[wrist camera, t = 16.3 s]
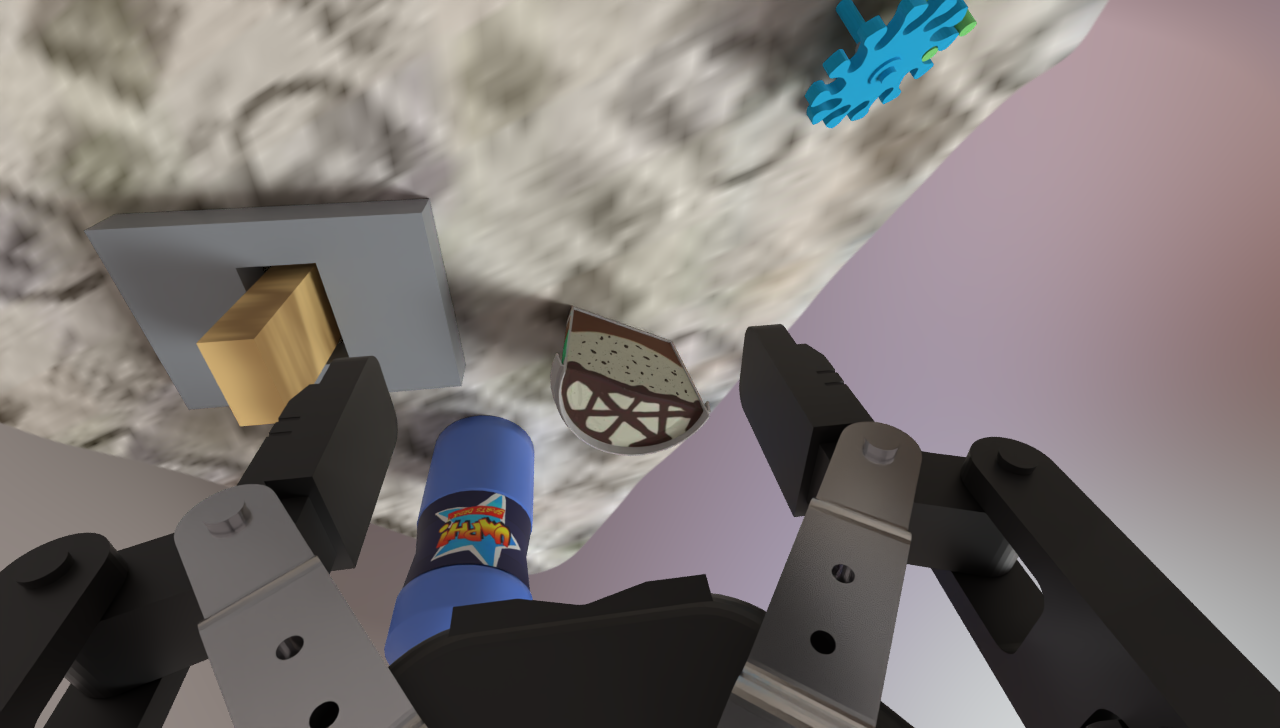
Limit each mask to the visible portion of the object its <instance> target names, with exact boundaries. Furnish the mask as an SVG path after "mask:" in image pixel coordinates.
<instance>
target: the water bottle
mask: <svg viewBox="0 0 1280 728" xmlns="http://www.w3.org/2000/svg"><path fill="white" fill-rule="evenodd" d="M533 487H534V447H533V443H532V441H531V439H530V437H529V436H528V434H527V433H526V432H525V431H524V430H523V429H522V428H521V427H519V426H518V425H516V424H515V423H513V422H511V421H509V420H506V419H503V418H500V417H495V416H482V415H481V416H471V417H468V418H464V419H461V420H458V421H456V422H454V423H452V424H451V425H449V426H448V427H447V428H445V429H444V431H443V432H442V433H441V434H440V435H439V437H438V439H437V441H436V445H435V449H434V453H433V457H432V461H431V465H430V470H429V474H428V478H427V482H426V486H425V491H424V495H423V499H422V504H421V508H420V512H419V517H418V521H417V543H416V554H415V556H414V559H413V562H412V564H411V567H410V570H409V573H408V575H407V578H406V581H405V583H404V586H403V588H402V590H401V591H400V593H399V595H398V596H397V599H396V603H395V607H394V611H393V615H392V620H391V624H390V628H389V632H388V636H387V640H386V644H385V649H384V650H385V657H386V659H387V661H388V663H389V665H391V664H392V663H393V662H394V661H395V660H396V659H398V658H399V657H400V656H402V655H403V654H404V653H406V652H407V651H408V650H410V649H411V648H413V647H414V646H416V645H418V644H419V643H421V642H422V641H424V640H426V639H428V638H430V637H432V636H434V635H436V634H438V633H440V632H442V631H445V630H447V629H450V624H451V617H452V610H453V607H456V606H464V605H471V604H479V603H487V602H494V601H502V600H510V599H527V600H533V599H532V595H531V593H530V587H529V578H528V569H527V559H526V555H527V550H528V545H529V540H530V535H531V532H532V521H533Z"/></svg>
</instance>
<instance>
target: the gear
mask: <svg viewBox="0 0 1280 728" xmlns="http://www.w3.org/2000/svg"><path fill="white" fill-rule="evenodd" d="M836 12H837V13H838V15H839V16H840V18H841V20H842V21H843V23H844V24H845V26H846V28H847V29H848V31H849V32H850V34H851V36H852V37H853V39H854V41H855V42H856V44H857V46H856V48H855V53H856V54H855V55H854V56H853V57H852V58H851V59H849V58H848V57H847V55H846V54H845V52H844V50H843V49H838V50H837V51H836V52H834V53H833V54H832V55H831V56H830V57H829V58H828V59H827V60H826V61H825V62H824V63H823V67H824V69H825V71H826V72H827V74H828V76H829V77H830V78H837V77H838V78H837V79H836V80H835V81H833V82H832V83H830V84H825V83H824V82H823V81H822V80H818V81H816V82H814V83H813V84H812V85H811V86H810V88H809V89H808V91H807V92H806V94H805V98H806V99H807V101H808V103H809V104H810V105H809V106H808V108H807V115H808V117H809V119H810V121H811V122H812V124H813V125H814V124H817V123H818V122H820V121H821V120H823V122H824V123H825V125H826V127H828V128H833V127H835V126H836V125H837V124H839V123H840V122H841V120H842V119H843V118H844V117H845V116H846V115H848V117H849V119H850V120H851V121H854V120H858V119H861V118H863V117H864V116H865V115H866V114H867V113H868V111H869V108H870V106H871V105H872V103H873V102H874V101H875V100H876V99H877V98H878V97H879V99H880V100H881V102H882V104H885V103H887V102H889V101H891V100H893V99H894V98H896V97H897V96H899V94H900V93H901V90H900V89H899V85H900V82H901V81H902V79H903V77H904V76H905V75H906V74H907V73H908V72H909V71H910V73H911V74H912V76H913V77H914V79H918V78H919V77H921V76H922V75H923V74H925V73H926V72H927V71H928V70H929V69H931V68H932V67H933V65H934V64H933V62H932V61H931V59H930V58H931V57H933V56H934V55H935V54H936V52H937V51H938V50H939V51H942V50H944V49H946V48H947V47H948V46H949V45H950V44H951V43H952V42H953V41H954V40H955V39H956V37H957V36H958V35H959V36H964V35H966V34H967V33H969V32H970V31H971V30H972V29H973V28H974V27H975V26H976V24H977V22H976V21H975V19H974V18H973V16H972V15H971V13H970V12H969V10H968V6H967V5H966V3H965V2H964V1H963V0H902V1H901V2H900V3H899V5H898V8H897V11H896V13H895V15H894V17H893V18H892V20H891V21H890V22H889V24H888V25H887V26H886V25H885V24H884V22H883V21H882V19H881V17H880V16H879V15H878V16H876V17H874V18H872V19H870V20H868V21H867V22H865V20H864V19H863V17H862V16H861V14H860V13H859V11H858V9H857V8H856V6H855V5H854V3H853V2H852V0H842V1H841V2H840V3H839V4H838V5H837V7H836Z"/></svg>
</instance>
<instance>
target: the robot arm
mask: <svg viewBox="0 0 1280 728" xmlns="http://www.w3.org/2000/svg"><path fill="white" fill-rule="evenodd" d="M739 391H740V400H741V404H742V408H743V410H744V412H745V414H746V417H747V418H748V421H749V423H750V425H751V427H752V429H753V431H754V434H755V436H756V438H757V440H758V442H759V444H760V446H761V448H762V450H763V453H764V455H765V457H766V459H767V461H768V463H769V465H770V467H771V470H772V472H773V474H774V476H775V478H776V480H777V482H778V484H779V486H780V489H781V491H782V493H783V495H784V497H785V499H786V501H787V503H788V506H789V508H790V510H791V512H792V514H793V516H794V517H798V516H805V517H804V519H803V522H802V524H801V527H800V529H799V532H798V534H797V537H796V539H795V542H794V544H793V547H792V549H791V552H790V554H789V557H788V559H787V562H786V564H785V567H784V569H783V572H782V574H781V577H780V579H779V582H778V584H777V587H776V589H775V592H774V595H773V597H772V599H771V602H770V604H769V607H768V610H767V612H766V611H764V610H763V609H760V608H758V607H756V606H754V605H752V604H750V603H747V602H744V601H742V600H739V599H736V598H733V597H729V596H725V595H720V594H713V593H711V592H710V589H709V585H708V581H707V578H706V575H705V574H702V575H695V576H687V577H680V578H672V579H665V580H656V581H648V582H644V583H642V584H639V585H636V586H634V587H631V588H628V589H626V590H623V591H621V592H618V593H615V594H613V595H610V596H607V597H605V598H602V599H600V600H597V601H595V602H592V603H589V604H586V605H573V604H563V603H554V602H545V601H536V600H527V599H510V600H502V601H494V602H487V603H479V604H471V605H464V606H456V607H453V610H452V617H451V624H450V629H447V630H445V631H442V632H440V633H438V634H436V635H434V636H432V637H430V638H428V639H426V640H424V641H422V642H421V643H419V644H418V645H416V646H414V647H413V648H411V649H410V650H408V651H407V652H406V653H404V654H403V655H402V656H400V657H399V658H398V659H396V660H395V661H394V662H393V663H392V664H391V665H390V666H389V667H387V665H386V663H385V662H384V660H383V659H382V657H381V656H380V654H379V653H378V651H377V649H376V648H375V646H374V645H373V643H372V641H371V640H370V638H369V637H368V635H367V634H366V632H365V630H364V629H363V627H362V626H361V624H360V623H359V621H358V619H357V618H356V616H355V615H354V613H353V611H352V610H351V608H350V607H349V605H348V604H347V602H346V600H345V599H344V597H343V596H342V594H341V592H340V591H339V589H338V588H337V586H336V584H335V583H334V581H333V580H332V578H331V577H330V572H331V571H335V570H344V569H351V568H355V567H356V564H357V560H358V557H359V554H360V551H361V548H362V545H363V542H364V539H365V536H366V533H367V530H368V527H369V524H370V521H371V518H372V515H373V512H374V509H375V505H376V502H377V499H378V496H379V493H380V490H381V487H382V484H383V481H384V478H385V475H386V472H387V469H388V466H389V462H390V459H391V456H392V453H393V450H394V447H395V444H396V440H397V431H398V428H397V418H396V413H395V410H394V407H393V404H392V401H391V397H390V394H389V391H388V388H387V385H386V382H385V379H384V376H383V373H382V370H381V367H380V364H379V362H378V360H377V358H376V357H375V356H361V357H348V358H336V359H334V360H333V361H332V362H331V364H330V366H329V367H328V369H327V371H326V373H325V374H324V376H323V378H322V380H321V381H320V383H319V384H309V385H308V386H307V387H305V388H304V389H303V390H302V391H300V392H299V393H298V394H297V395H296V396H294V397H293V398H292V399H291V400H289V402H288V403H287V405H286V406H285V408H284V410H283V411H282V413H281V415H280V416H279V418H278V422H276V423H275V424H274V426H273V428H272V429H271V431H270V432H269V437H266V439H265V441H264V442H263V444H262V445H261V447H260V449H259V450H258V452H257V453H256V455H255V457H254V458H253V460H252V462H251V463H250V465H249V466H248V468H247V470H246V471H245V473H244V475H243V476H242V478H241V479H240V481H239V483H238V484H237V486H235V487H231V488H228V489H225V490H223V491H220V492H218V493H215V494H213V495H211V496H210V497H208V498H206V499H204V500H203V501H201V502H200V503H199V504H197V505H196V506H194V507H193V508H192V509H191V510H190V511H189V512H187V513H186V514H185V516H184V517H183V518H182V519H181V521H180V522H179V523H178V525H177V527H176V530H175V533H173V534H169V535H166V536H163V537H160V538H157V539H154V540H151V541H148V542H145V543H141V544H138V545H135V546H132V547H129V548H126V549H122V550H119V551H117V550H116V549H115V548H114V547H113V546H112V544H111V543H110V542H109V541H108V540H107V538H106V537H104V536H102V535H100V534H96V533H78V534H73V535H68V536H65V537H62V538H58V539H56V540H53V541H50V542H48V543H46V544H43V545H41V546H39V547H37V548H35V549H33V550H31V551H29V552H27V553H26V554H24V555H23V556H21V557H19V558H18V559H16V560H15V561H14V562H12V563H11V564H10V565H8V566H7V567H6V568H5V569H3V570H2V571H1V572H0V728H34V727H35V724H36V722H37V719H38V718H39V716H40V714H41V712H42V711H43V709H44V708H45V706H46V705H47V703H48V701H49V700H50V698H51V697H52V695H53V693H54V692H55V690H56V689H57V687H58V686H59V684H60V683H61V681H62V680H63V678H64V677H65V678H66V679H67V680H68V681H69V682H70V683H71V684H70V686H69V687H68V689H67V691H66V692H65V694H64V695H63V697H62V699H61V700H60V702H59V703H58V705H57V707H56V708H55V710H54V711H53V713H52V715H51V716H50V718H49V719H48V721H47V723H46V724H45V726H44V728H162V726H163V724H164V722H165V720H166V718H167V715H168V713H169V711H170V709H171V706H172V705H173V702H174V700H175V698H176V696H177V694H178V691H179V689H180V687H181V685H182V683H183V681H184V678H185V676H186V674H187V672H188V670H189V668H190V666H191V665H194V664H196V663H199V662H201V661H204V660H206V659H209V660H210V663H211V666H212V668H213V671H214V674H215V677H216V679H217V682H218V685H219V687H220V690H221V693H222V695H223V698H224V701H225V703H226V706H227V709H228V712H229V714H230V717H231V720H232V722H233V725H234V728H914V727H913V726H912V725H910V724H909V723H908V722H906V721H905V720H904V719H903V718H901V717H900V716H899V715H898V714H897V713H895V712H894V711H892V709H890V708H889V707H888V706H886V705H885V704H884V703H882V702H881V695H882V690H883V685H884V680H885V675H886V669H887V664H888V659H889V654H890V649H891V643H892V638H893V633H894V628H895V622H896V617H897V612H898V607H899V601H900V596H901V591H902V585H903V580H904V575H905V570H906V565H907V564H910V565H917V566H922V567H929V568H931V569H932V571H933V572H934V574H935V576H936V577H937V579H938V581H939V583H940V584H941V586H942V588H943V589H944V591H945V592H946V594H947V596H948V598H949V599H950V601H951V603H952V604H953V606H954V608H955V609H956V611H957V613H958V614H959V616H960V618H961V620H962V621H963V623H964V625H965V626H966V628H967V630H968V631H969V633H970V635H971V636H972V638H973V640H974V641H975V643H976V645H977V647H978V648H979V650H980V652H981V653H982V655H983V657H984V658H985V660H986V662H987V663H988V665H989V667H990V668H991V670H992V672H993V673H994V675H995V677H996V678H997V680H998V682H999V684H1000V685H1001V687H1002V688H1003V690H1004V692H1005V694H1006V695H1007V697H1008V699H1009V700H1010V702H1011V704H1012V705H1013V707H1014V709H1015V711H1016V712H1017V714H1018V716H1019V717H1020V719H1021V721H1022V722H1023V724H1024V726H1025V727H1026V728H1280V692H1279V691H1278V690H1277V689H1276V688H1275V687H1274V685H1272V684H1271V682H1270V681H1269V680H1268V679H1267V678H1266V677H1265V676H1263V674H1262V673H1261V672H1260V671H1259V670H1258V669H1257V668H1256V667H1255V666H1254V665H1253V664H1252V663H1251V662H1250V661H1249V660H1248V659H1247V658H1246V657H1245V656H1244V655H1243V654H1242V653H1241V652H1240V651H1239V650H1238V649H1237V648H1236V647H1235V646H1234V645H1233V644H1232V643H1231V642H1230V641H1229V640H1228V639H1227V638H1226V637H1225V636H1224V635H1223V634H1222V633H1221V632H1220V631H1219V630H1218V629H1217V628H1216V627H1215V626H1214V625H1213V624H1212V623H1211V621H1210V620H1209V619H1208V618H1207V617H1206V616H1205V615H1204V614H1203V613H1202V612H1201V611H1200V610H1199V609H1198V608H1197V607H1196V606H1194V604H1193V603H1192V602H1191V601H1190V600H1189V599H1188V598H1187V597H1186V596H1185V595H1184V594H1183V593H1182V592H1181V591H1180V590H1179V589H1178V588H1177V587H1176V586H1175V585H1174V584H1173V583H1172V582H1171V581H1170V580H1169V579H1168V578H1167V577H1166V576H1165V575H1164V574H1163V573H1162V572H1161V571H1160V570H1159V569H1158V568H1157V567H1156V566H1155V565H1154V564H1153V563H1152V562H1151V561H1150V560H1149V559H1148V557H1147V556H1146V555H1144V554H1143V553H1142V551H1141V550H1140V549H1139V548H1138V547H1137V546H1136V545H1135V544H1134V543H1133V542H1132V541H1131V540H1130V539H1129V538H1128V537H1127V536H1126V535H1125V534H1124V533H1123V532H1122V531H1121V530H1120V529H1119V528H1118V527H1117V526H1116V525H1115V524H1114V523H1113V522H1112V521H1111V520H1110V519H1109V518H1108V517H1107V516H1106V515H1105V514H1104V513H1103V512H1102V511H1101V510H1100V509H1099V508H1098V507H1097V506H1096V505H1095V504H1094V503H1093V502H1092V501H1091V500H1090V499H1089V498H1088V497H1087V496H1086V495H1085V493H1083V491H1081V489H1079V487H1078V486H1077V485H1076V484H1075V483H1074V482H1072V480H1071V479H1070V478H1069V477H1068V476H1067V475H1066V474H1065V473H1064V472H1063V471H1062V470H1061V469H1060V468H1059V467H1058V466H1057V465H1056V464H1055V463H1054V462H1053V461H1052V460H1051V459H1050V458H1049V457H1047V456H1046V455H1045V454H1043V453H1042V452H1040V451H1039V450H1037V449H1035V448H1033V447H1031V446H1029V445H1027V444H1025V443H1022V442H1019V441H1016V440H1012V439H1008V438H1002V437H987V438H983V439H979V440H977V441H975V442H974V443H973V444H972V446H971V448H970V450H969V452H968V455H967V457H960V456H952V455H943V454H936V453H929V452H923V451H921V449H920V448H919V446H918V444H917V443H916V442H915V441H914V440H913V439H912V438H911V437H910V436H909V435H908V434H906V433H904V432H903V431H901V430H899V429H897V428H895V427H893V426H890V425H887V424H883V423H878V422H874V420H873V419H872V418H871V417H870V415H869V414H868V412H867V411H866V410H865V409H864V407H863V406H862V405H861V403H860V402H859V401H858V399H857V398H856V397H855V395H854V394H853V393H852V391H851V390H850V389H849V387H848V386H847V385H846V384H844V381H843V380H842V378H841V377H840V376H839V374H838V373H835V369H834V368H833V366H832V365H831V364H830V363H829V361H828V360H827V359H826V357H825V356H824V355H823V354H821V353H819V352H818V351H816V350H815V349H813V348H812V347H810V346H809V345H807V344H796V343H795V341H794V340H793V338H792V337H791V336H790V334H789V333H788V331H787V330H786V328H785V327H784V326H783V325H782V324H775V325H763V326H750V327H748V328H747V330H746V333H745V338H744V347H743V356H742V365H741V373H740V383H739ZM1018 556H1019V557H1020V559H1021V560H1022V561H1023V562H1024V564H1025V565H1026V566H1027V568H1028V569H1029V571H1030V572H1031V573H1032V574H1033V576H1034V577H1035V578H1036V580H1037V581H1038V583H1039V585H1040V587H1041V590H1042V592H1041V591H1040V590H1039V589H1038V587H1037V586H1036V585H1035V583H1034V582H1033V581H1032V579H1031V578H1030V577H1029V575H1028V574H1027V573H1026V571H1025V570H1024V569H1023V567H1022V566H1021V565H1020V563H1019V562H1018V561H1017V558H1018ZM1042 593H1043V594H1042Z"/></svg>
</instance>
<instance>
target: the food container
mask: <svg viewBox="0 0 1280 728" xmlns="http://www.w3.org/2000/svg"><path fill="white" fill-rule="evenodd" d="M550 379H551V390H552V394H553V398H554V401H555V403H556V406H557V409H558V411H559V413H560V415H561V418H562V419H563V421H564V422H565V424H566V425H567V426H568V427H569V428H570V430H571V431H572V432H573V433H574V434H575V435H576V436H577V437H578V438H579V439H581V440H582V441H583V442H585V443H586V444H588V445H590V446H592V447H594V448H596V449H598V450H601V451H604V452H607V453H612V454H617V455H628V456H634V455H646V454H652V453H656V452H659V451H663V450H666V449H668V448H671V447H673V446H676V445H677V444H679V443H681V442H683V441H684V440H686V439H688V438H689V437H690V436H692V435H693V434H694V433H696V432H697V430H699V428H701V427H702V426H703V425H704V424H705V422H706V421H707V420H708V418H709V414H710V405H709V402H708V401H707V402H706V403H705V405H704V403H703V401H702V399H701V397H700V395H699V393H698V391H697V389H696V387H695V385H694V383H693V381H692V379H691V377H690V375H689V373H688V371H687V369H686V367H685V365H684V363H683V361H682V359H681V358H680V356H679V354H678V352H677V350H676V348H675V346H674V344H673V342H672V341H670V340H667V339H665V338H662V337H659V336H656V335H653V334H650V333H648V332H645V331H642V330H639V329H636V328H634V327H631V326H628V325H625V324H622V323H619V322H617V321H614V320H611V319H608V318H605V317H603V316H600V315H597V314H594V313H591V312H588V311H586V310H583V309H580V308H577V307H574V306H571V309H570V312H569V315H568V318H567V326H566V333H565V341H564V348H563V356H562V362H561V360H560V357H559V354H558V353H556V355H555V357H554V360H553V363H552V369H551V375H550Z"/></svg>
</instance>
